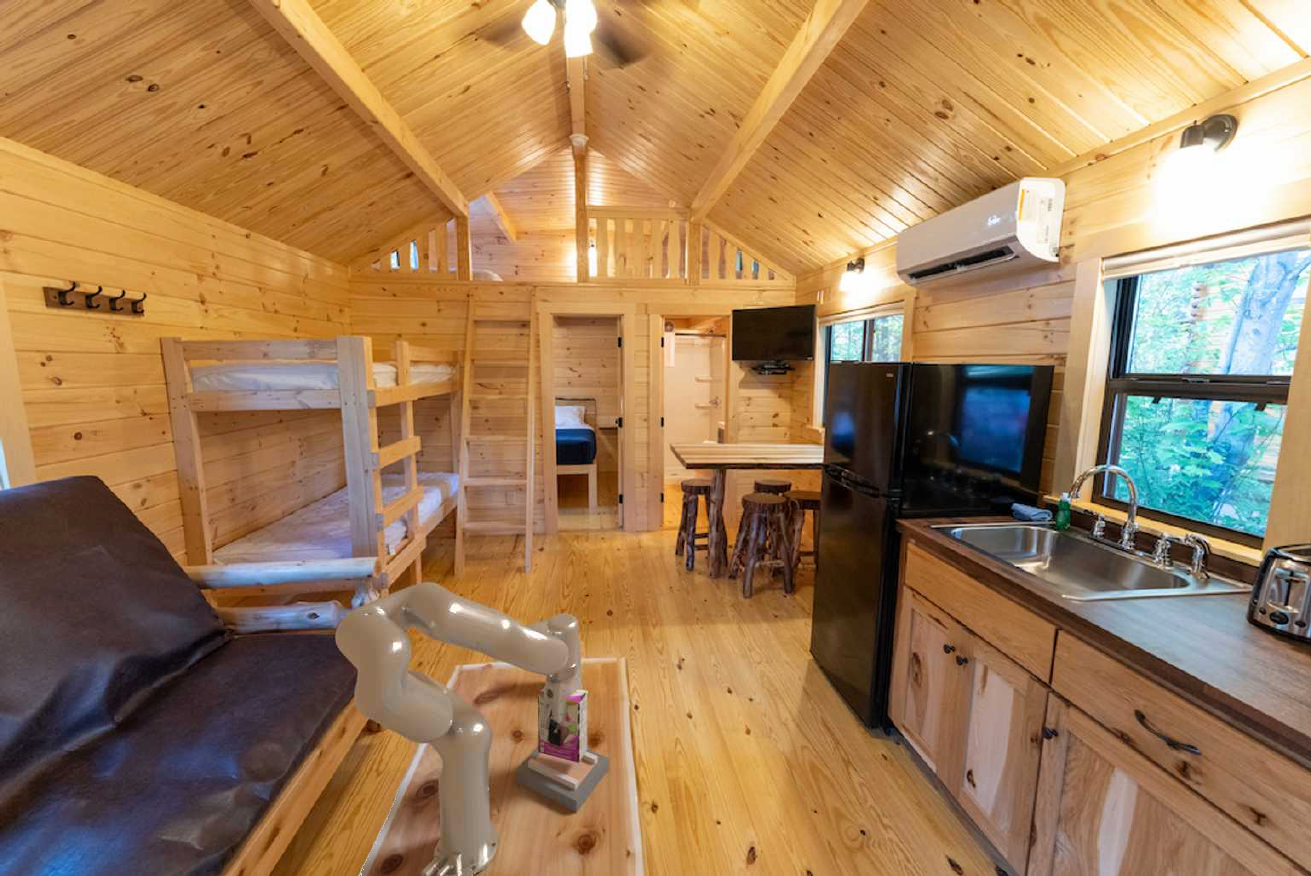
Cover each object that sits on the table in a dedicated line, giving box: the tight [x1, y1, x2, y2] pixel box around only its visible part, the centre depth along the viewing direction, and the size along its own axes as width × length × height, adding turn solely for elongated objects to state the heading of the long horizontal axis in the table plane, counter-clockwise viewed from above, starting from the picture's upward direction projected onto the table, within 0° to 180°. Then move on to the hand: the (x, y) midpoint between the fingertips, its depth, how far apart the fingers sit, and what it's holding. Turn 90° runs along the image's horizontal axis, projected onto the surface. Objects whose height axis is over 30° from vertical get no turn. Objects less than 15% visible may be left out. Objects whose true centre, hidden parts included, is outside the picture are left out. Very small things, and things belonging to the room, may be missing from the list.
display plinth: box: [514, 747, 610, 813], centre depth 124 cm, size 14×18×4 cm
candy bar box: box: [537, 684, 589, 763], centre depth 122 cm, size 11×5×16 cm, turn 74°
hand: (562, 734), depth 123 cm, fingers closed on candy bar box, 5 cm apart
